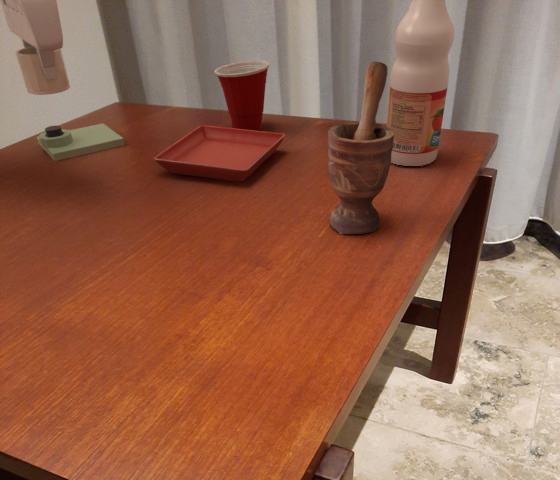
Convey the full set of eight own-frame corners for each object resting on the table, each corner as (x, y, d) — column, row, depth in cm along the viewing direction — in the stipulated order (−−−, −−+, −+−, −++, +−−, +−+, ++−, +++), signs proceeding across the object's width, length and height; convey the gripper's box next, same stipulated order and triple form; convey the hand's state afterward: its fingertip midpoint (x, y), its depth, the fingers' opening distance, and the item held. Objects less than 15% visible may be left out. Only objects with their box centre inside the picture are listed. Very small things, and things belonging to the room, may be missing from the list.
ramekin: (33, 97, 85) (21, 56, 81) (23, 88, 89) (11, 49, 85) (75, 90, 87) (65, 50, 84) (63, 81, 91) (53, 43, 88)
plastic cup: (226, 120, 120) (220, 58, 112) (275, 121, 118) (273, 58, 111) (215, 137, 112) (207, 72, 104) (267, 138, 110) (264, 71, 102)
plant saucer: (247, 188, 92) (246, 168, 90) (154, 176, 97) (151, 157, 95) (287, 151, 105) (286, 133, 102) (202, 142, 110) (200, 124, 108)
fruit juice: (378, 151, 103) (393, -35, 85) (428, 147, 103) (454, -38, 85) (389, 170, 96) (408, -29, 78) (443, 166, 96) (474, -32, 78)
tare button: (49, 139, 106) (47, 131, 105) (45, 135, 108) (43, 127, 107) (65, 136, 108) (62, 128, 107) (60, 132, 110) (58, 124, 109)
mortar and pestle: (325, 202, 87) (327, 59, 74) (380, 201, 86) (393, 58, 73) (326, 237, 78) (330, 82, 65) (388, 236, 78) (404, 80, 65)
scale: (52, 162, 105) (47, 145, 103) (36, 144, 112) (31, 129, 110) (125, 145, 110) (121, 129, 108) (104, 129, 118) (101, 115, 116)
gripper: (-23, -39, 83) (10, 64, 92) (6, -28, 70) (40, 91, 79) (20, -42, 85) (48, 59, 95) (56, -33, 72) (83, 83, 81)
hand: (44, 73), depth 87 cm, fingers closed on ramekin, 6 cm apart
